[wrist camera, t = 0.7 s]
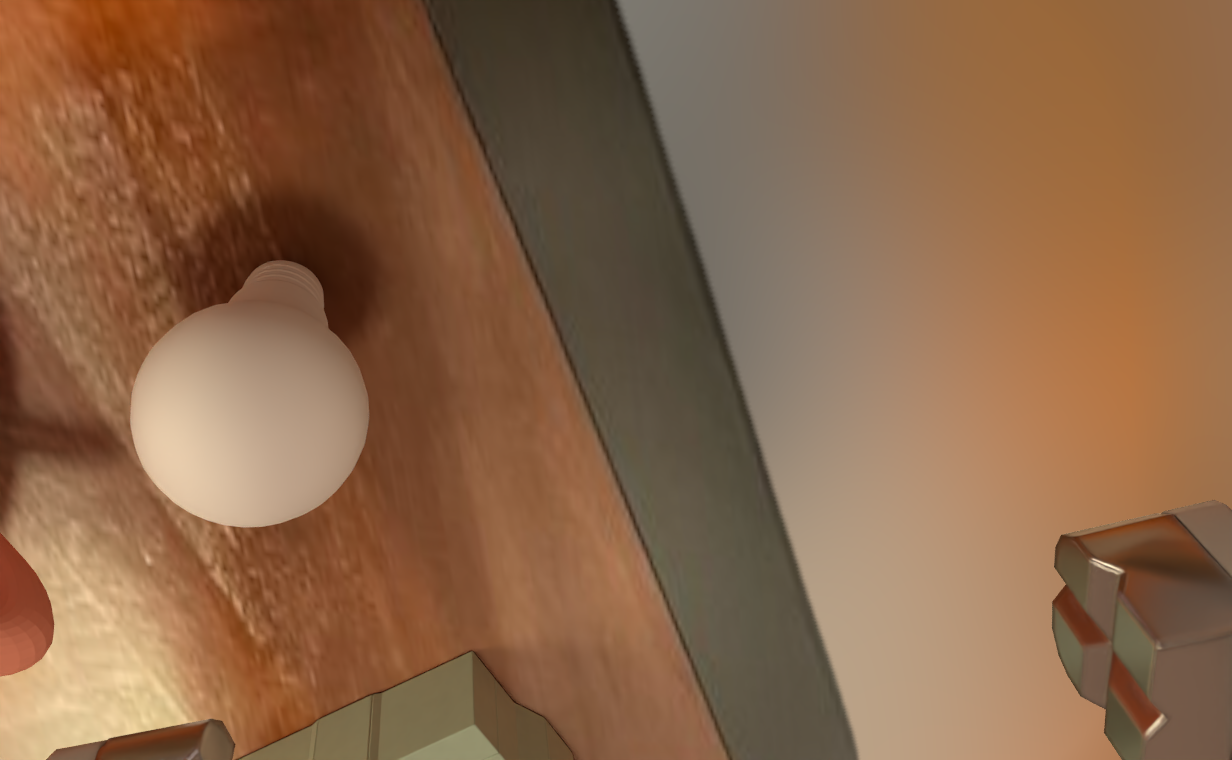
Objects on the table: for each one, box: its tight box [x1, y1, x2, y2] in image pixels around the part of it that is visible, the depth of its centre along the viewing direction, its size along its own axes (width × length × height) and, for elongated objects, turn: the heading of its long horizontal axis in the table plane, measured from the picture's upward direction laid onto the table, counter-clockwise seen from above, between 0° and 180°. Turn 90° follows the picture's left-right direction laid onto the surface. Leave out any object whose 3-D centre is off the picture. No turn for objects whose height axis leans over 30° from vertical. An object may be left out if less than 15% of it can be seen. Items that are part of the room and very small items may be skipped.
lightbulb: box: [130, 260, 369, 527], centre depth 33 cm, size 6×6×11 cm
